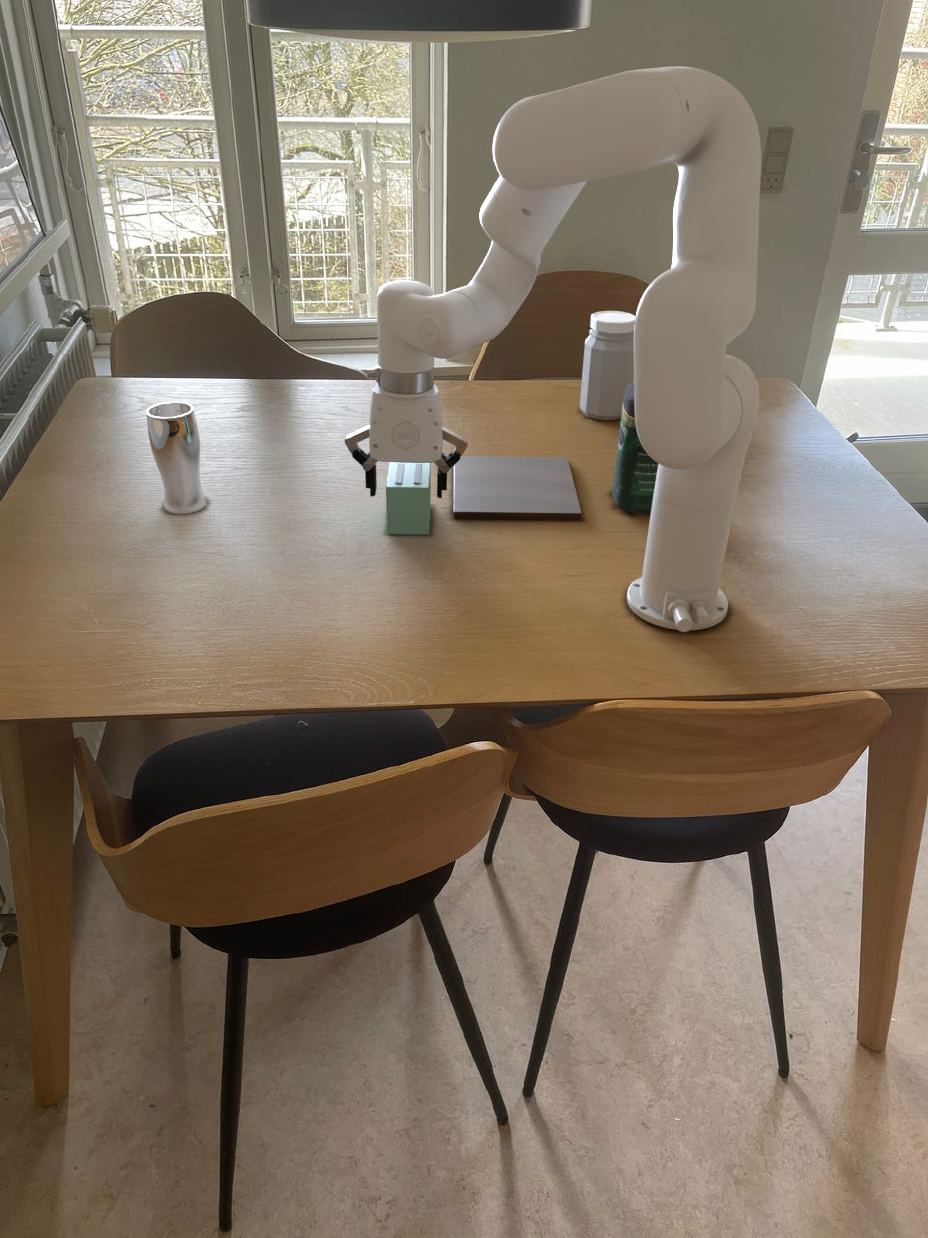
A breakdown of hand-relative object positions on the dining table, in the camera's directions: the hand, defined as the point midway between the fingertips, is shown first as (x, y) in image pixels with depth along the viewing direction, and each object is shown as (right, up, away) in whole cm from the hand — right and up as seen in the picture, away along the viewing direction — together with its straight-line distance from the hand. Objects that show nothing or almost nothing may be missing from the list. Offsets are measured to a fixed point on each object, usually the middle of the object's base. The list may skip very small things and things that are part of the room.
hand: (406, 493), depth 135 cm
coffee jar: (+35, 0, +9) cm, 36 cm away
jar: (+35, +21, +41) cm, 58 cm away
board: (+16, +2, +12) cm, 20 cm away
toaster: (0, -3, +3) cm, 4 cm away
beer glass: (-34, -1, +5) cm, 34 cm away
